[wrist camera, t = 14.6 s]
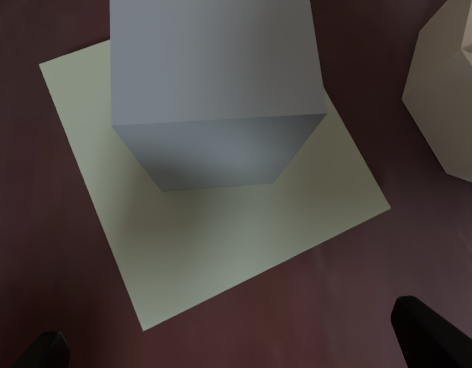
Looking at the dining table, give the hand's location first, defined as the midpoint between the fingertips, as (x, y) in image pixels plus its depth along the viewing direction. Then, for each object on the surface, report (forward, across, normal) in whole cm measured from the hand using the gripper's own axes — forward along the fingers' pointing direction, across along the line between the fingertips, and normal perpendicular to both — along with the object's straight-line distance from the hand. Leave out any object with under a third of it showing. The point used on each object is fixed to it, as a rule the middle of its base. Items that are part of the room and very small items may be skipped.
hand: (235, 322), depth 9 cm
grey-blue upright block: (+9, 0, -2) cm, 9 cm away
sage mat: (+10, 0, 0) cm, 10 cm away
